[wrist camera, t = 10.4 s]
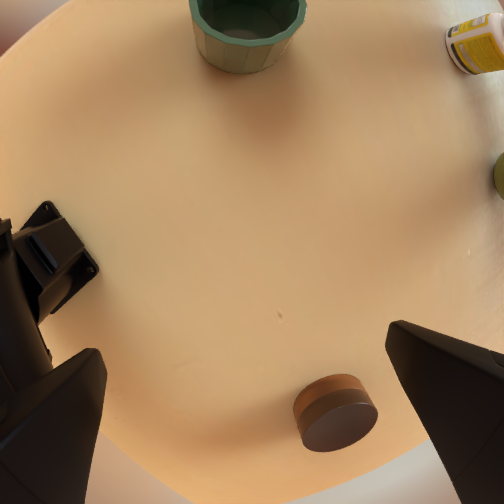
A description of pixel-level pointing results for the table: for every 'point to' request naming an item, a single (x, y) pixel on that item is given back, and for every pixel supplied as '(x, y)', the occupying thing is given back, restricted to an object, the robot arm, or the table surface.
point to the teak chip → (324, 390)
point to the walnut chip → (337, 420)
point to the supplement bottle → (478, 44)
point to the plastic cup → (245, 31)
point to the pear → (499, 175)
